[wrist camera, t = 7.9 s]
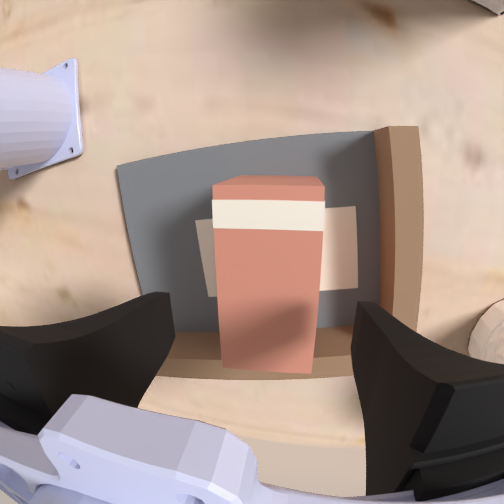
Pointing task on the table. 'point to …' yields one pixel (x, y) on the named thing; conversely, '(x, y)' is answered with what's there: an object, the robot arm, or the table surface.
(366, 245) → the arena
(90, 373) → the robot arm
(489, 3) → the candy bar box
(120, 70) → the table surface
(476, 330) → the white cup
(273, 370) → the block
